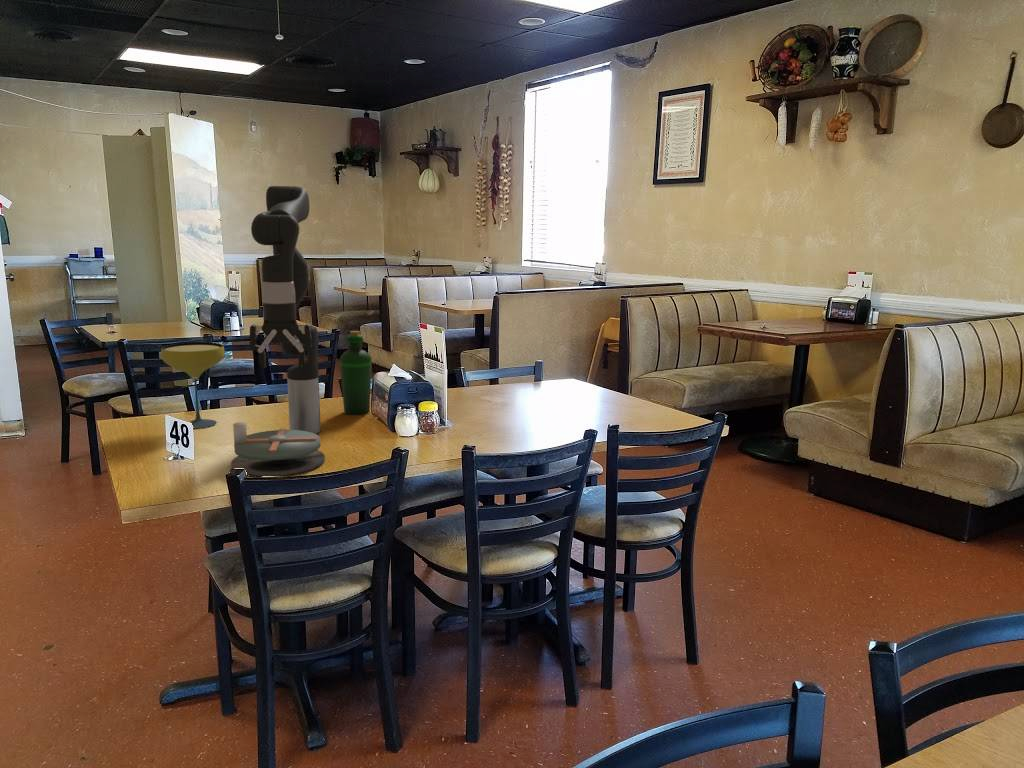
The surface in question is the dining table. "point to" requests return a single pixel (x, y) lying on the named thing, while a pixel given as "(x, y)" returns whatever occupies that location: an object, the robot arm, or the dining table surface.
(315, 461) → the base
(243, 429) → the handwheel
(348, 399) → the bottle
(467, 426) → the dining table surface
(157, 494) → the dining table surface
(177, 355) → the cocktail glass
